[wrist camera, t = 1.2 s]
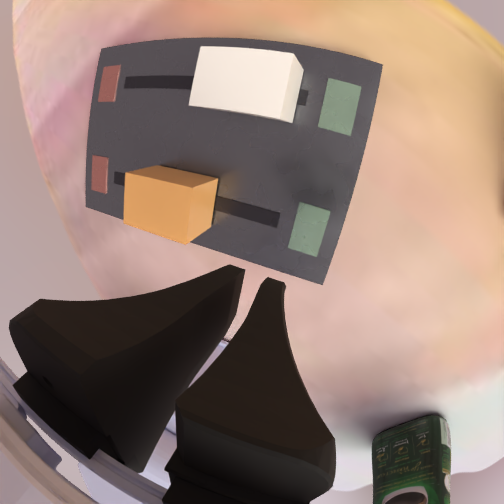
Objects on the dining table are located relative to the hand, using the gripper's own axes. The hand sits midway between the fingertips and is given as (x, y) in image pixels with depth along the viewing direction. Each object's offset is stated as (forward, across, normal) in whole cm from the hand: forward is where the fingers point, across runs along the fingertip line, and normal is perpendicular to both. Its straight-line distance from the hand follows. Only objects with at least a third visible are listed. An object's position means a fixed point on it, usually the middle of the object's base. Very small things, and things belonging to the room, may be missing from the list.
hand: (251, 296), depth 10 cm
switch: (+9, +4, -8) cm, 12 cm away
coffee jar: (+11, -21, +20) cm, 31 cm away
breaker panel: (+10, +8, -4) cm, 14 cm away
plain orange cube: (+9, +8, 0) cm, 12 cm away
